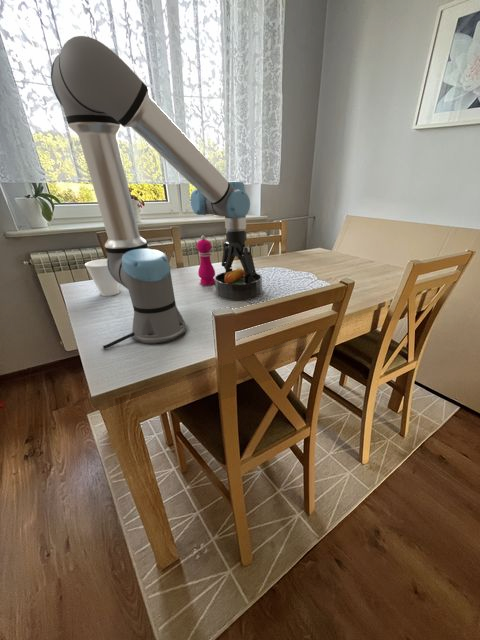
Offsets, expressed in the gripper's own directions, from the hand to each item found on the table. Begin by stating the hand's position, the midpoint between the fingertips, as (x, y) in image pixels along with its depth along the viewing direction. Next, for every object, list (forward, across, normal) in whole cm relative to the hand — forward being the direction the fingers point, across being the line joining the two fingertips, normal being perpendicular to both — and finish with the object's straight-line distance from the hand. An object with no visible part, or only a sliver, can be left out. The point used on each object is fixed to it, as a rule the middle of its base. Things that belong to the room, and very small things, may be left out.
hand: (238, 288), depth 118 cm
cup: (+2, +36, +38) cm, 53 cm away
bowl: (+2, 0, 0) cm, 2 cm away
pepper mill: (+2, +19, +2) cm, 19 cm away
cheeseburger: (+1, 0, 0) cm, 1 cm away
